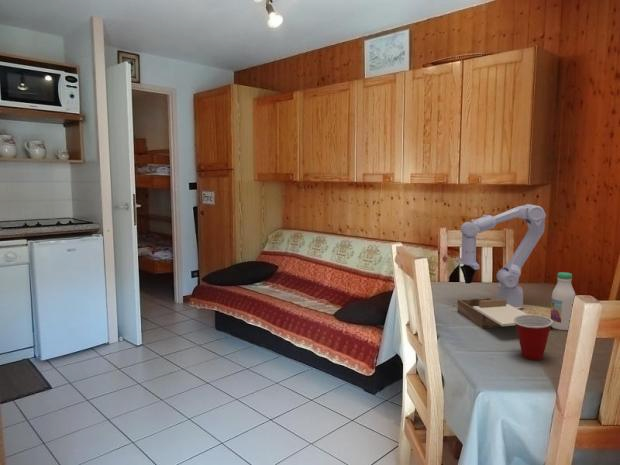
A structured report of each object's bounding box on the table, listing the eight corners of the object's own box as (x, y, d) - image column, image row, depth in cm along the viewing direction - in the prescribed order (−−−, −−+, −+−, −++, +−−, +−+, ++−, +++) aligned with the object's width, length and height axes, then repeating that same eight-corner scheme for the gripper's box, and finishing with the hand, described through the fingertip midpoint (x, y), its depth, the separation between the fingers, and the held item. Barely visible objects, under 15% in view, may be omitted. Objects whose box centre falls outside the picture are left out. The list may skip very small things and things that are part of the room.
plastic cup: (505, 350, 143) (506, 314, 141) (537, 348, 144) (539, 312, 142) (524, 365, 132) (525, 326, 131) (559, 362, 133) (561, 323, 131)
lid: (507, 306, 171) (507, 297, 171) (541, 323, 152) (541, 314, 151) (473, 308, 169) (473, 300, 169) (502, 326, 150) (502, 317, 149)
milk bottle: (572, 324, 164) (574, 271, 162) (576, 331, 157) (579, 276, 154) (548, 323, 167) (550, 270, 164) (552, 330, 159) (554, 275, 157)
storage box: (489, 309, 185) (489, 297, 184) (518, 325, 165) (518, 312, 164) (457, 311, 183) (457, 299, 182) (482, 328, 163) (482, 315, 163)
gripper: (451, 248, 192) (451, 279, 194) (468, 254, 178) (467, 287, 180) (467, 247, 193) (466, 278, 195) (484, 253, 179) (483, 286, 181)
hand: (468, 283), depth 187 cm, fingers closed
